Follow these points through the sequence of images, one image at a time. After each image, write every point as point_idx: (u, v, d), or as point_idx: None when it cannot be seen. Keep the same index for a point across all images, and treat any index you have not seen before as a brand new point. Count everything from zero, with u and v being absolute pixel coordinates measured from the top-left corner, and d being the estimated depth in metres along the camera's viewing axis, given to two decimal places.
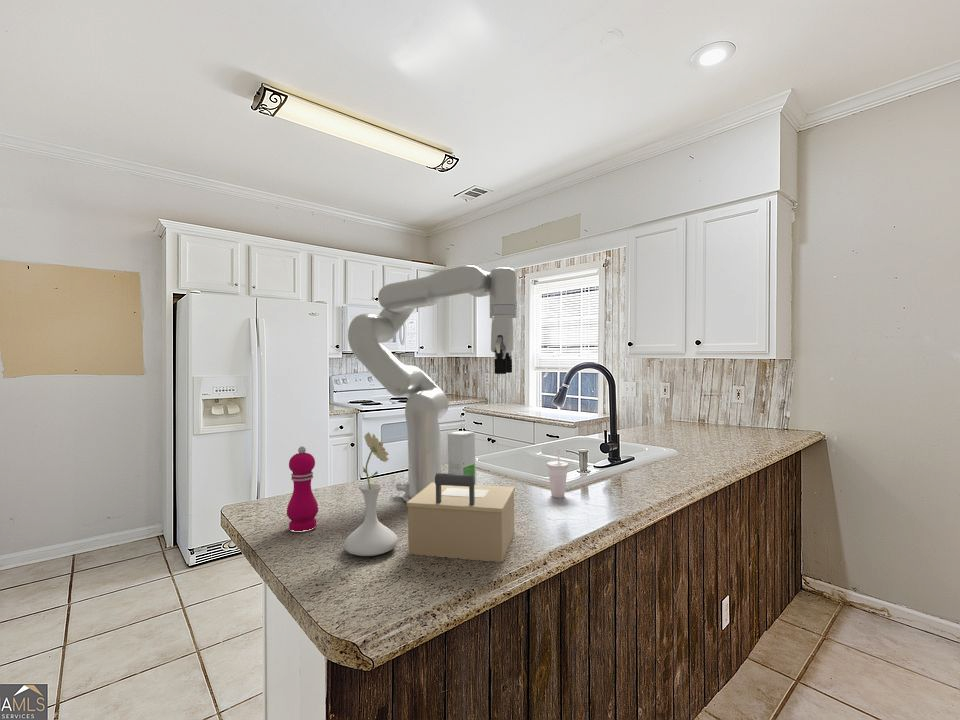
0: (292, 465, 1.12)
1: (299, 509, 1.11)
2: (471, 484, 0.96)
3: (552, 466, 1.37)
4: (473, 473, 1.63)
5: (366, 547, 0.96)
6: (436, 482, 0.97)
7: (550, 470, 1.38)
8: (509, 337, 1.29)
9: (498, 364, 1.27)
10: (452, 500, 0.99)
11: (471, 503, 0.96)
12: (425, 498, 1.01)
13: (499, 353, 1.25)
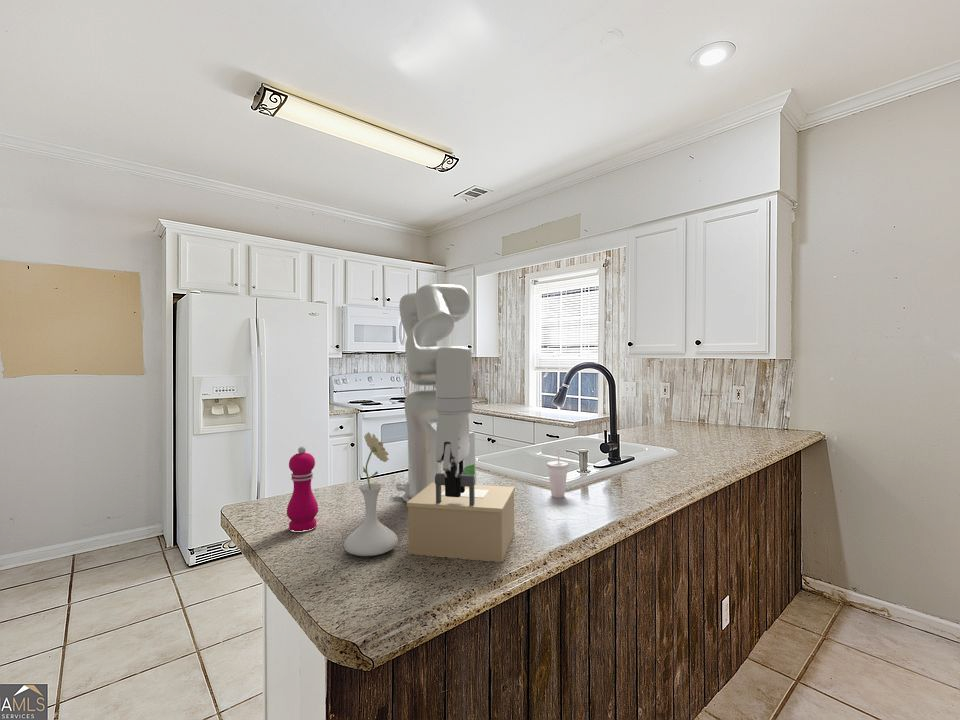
0: (292, 465, 1.12)
1: (299, 509, 1.11)
2: (471, 484, 0.96)
3: (552, 466, 1.37)
4: (473, 473, 1.63)
5: (366, 547, 0.96)
6: (436, 482, 0.97)
7: (550, 470, 1.38)
8: (461, 443, 0.94)
9: (449, 485, 0.95)
10: (452, 500, 0.99)
11: (471, 503, 0.96)
12: (425, 498, 1.01)
13: None
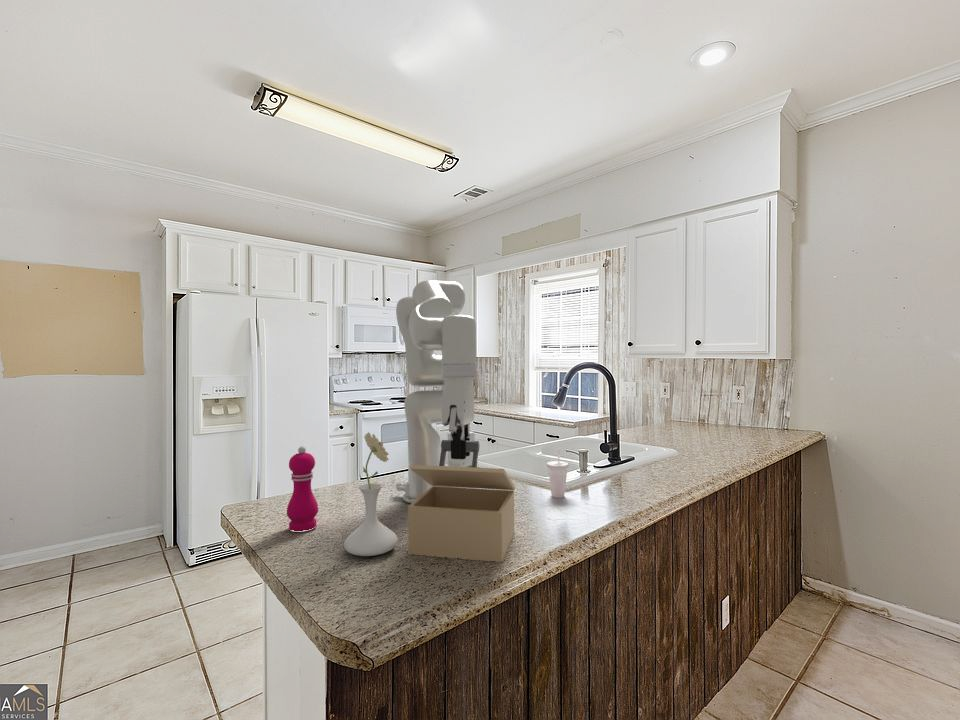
0: (292, 465, 1.12)
1: (299, 509, 1.11)
2: (476, 447, 1.00)
3: (552, 466, 1.37)
4: None
5: (366, 547, 0.96)
6: (442, 445, 1.01)
7: (550, 470, 1.38)
8: (466, 407, 0.98)
9: (455, 447, 0.99)
10: None
11: (474, 466, 0.98)
12: None
13: None
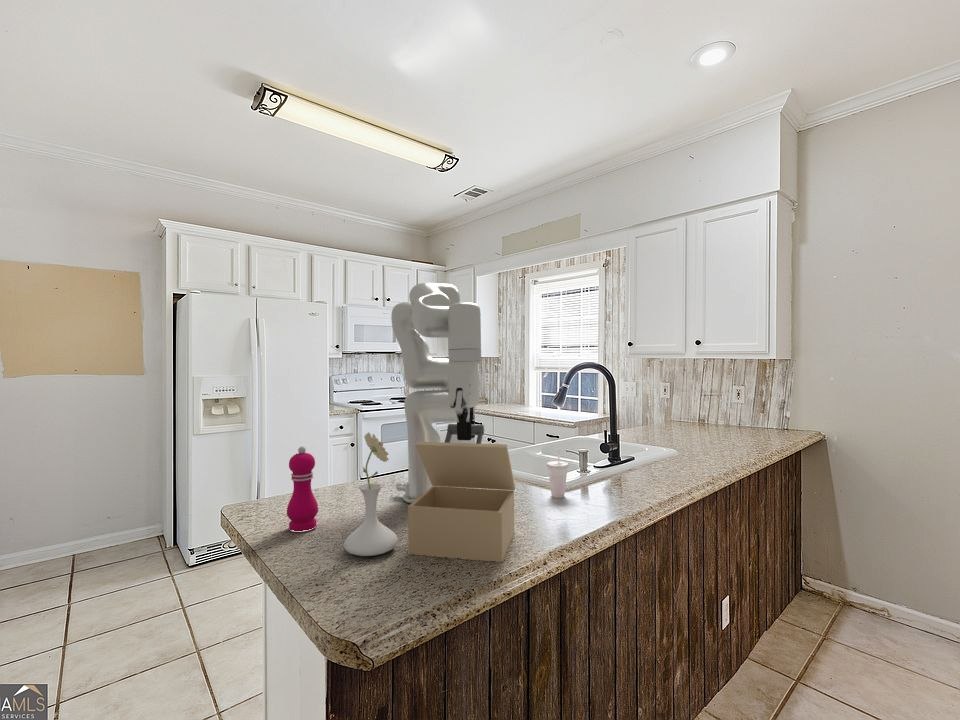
0: (292, 465, 1.12)
1: (299, 509, 1.11)
2: (481, 428, 1.05)
3: (552, 466, 1.37)
4: None
5: (366, 547, 0.96)
6: (448, 427, 1.06)
7: (550, 470, 1.38)
8: (471, 390, 1.03)
9: (461, 429, 1.04)
10: None
11: (477, 444, 1.02)
12: None
13: (462, 416, 1.03)
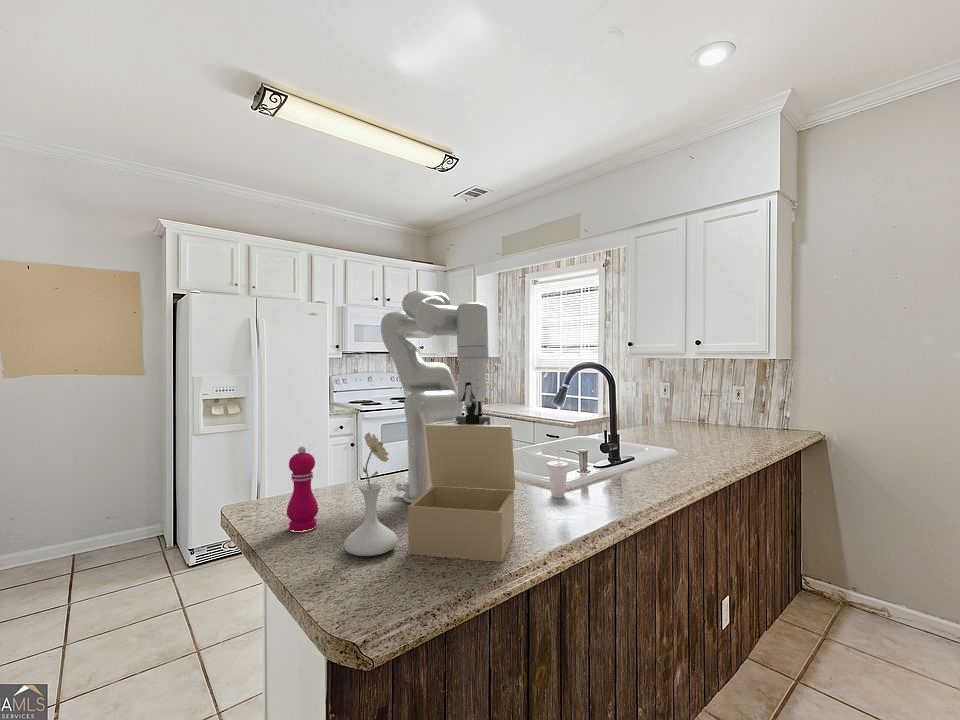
0: (292, 465, 1.12)
1: (299, 509, 1.11)
2: (487, 418, 1.12)
3: (552, 466, 1.37)
4: None
5: (366, 547, 0.96)
6: (457, 417, 1.13)
7: (550, 470, 1.38)
8: (479, 384, 1.10)
9: (470, 421, 1.11)
10: None
11: None
12: None
13: (471, 409, 1.10)
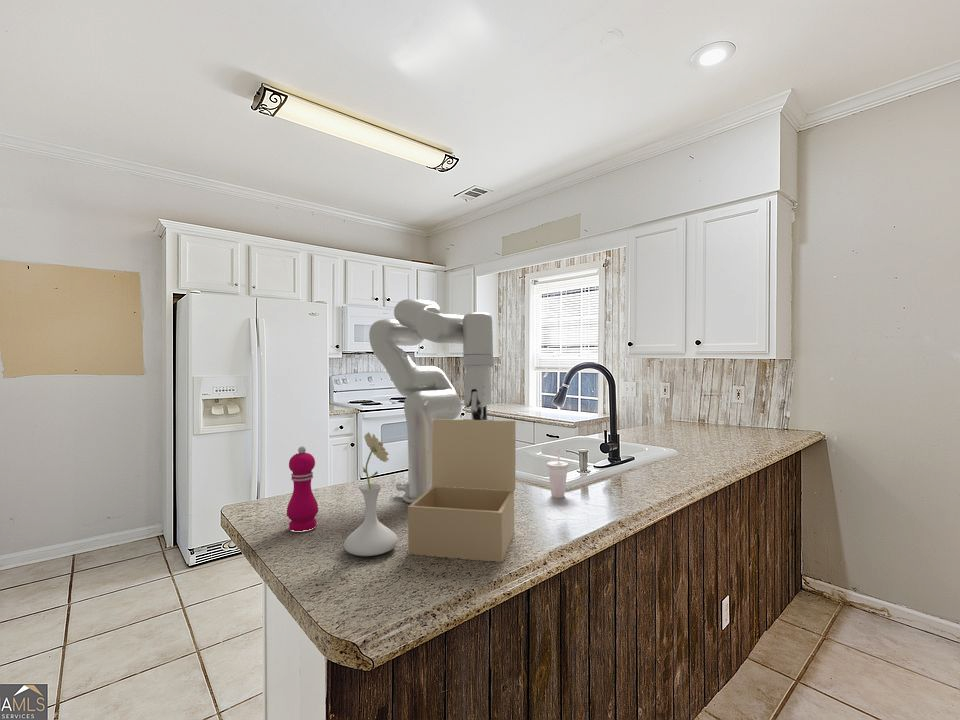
0: (292, 465, 1.12)
1: (299, 509, 1.11)
2: None
3: (552, 466, 1.37)
4: None
5: (366, 547, 0.96)
6: (464, 419, 1.19)
7: (550, 470, 1.38)
8: (485, 391, 1.15)
9: None
10: None
11: None
12: None
13: None
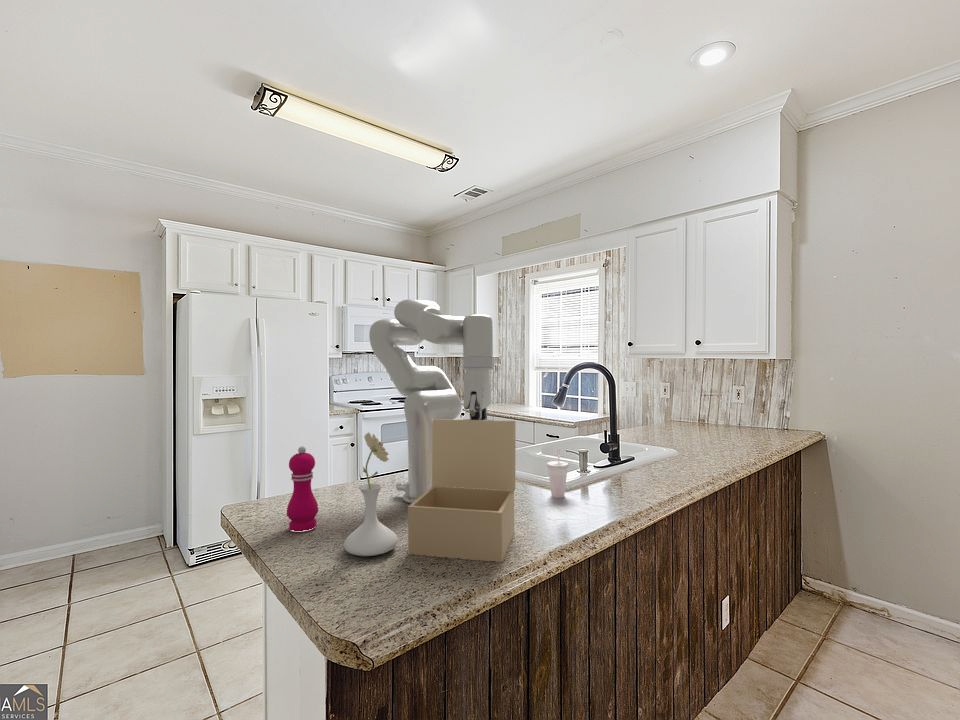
0: (292, 465, 1.12)
1: (299, 509, 1.11)
2: None
3: (552, 466, 1.37)
4: None
5: (366, 547, 0.96)
6: (464, 419, 1.19)
7: (550, 470, 1.38)
8: (484, 393, 1.15)
9: None
10: None
11: None
12: None
13: (474, 416, 1.14)
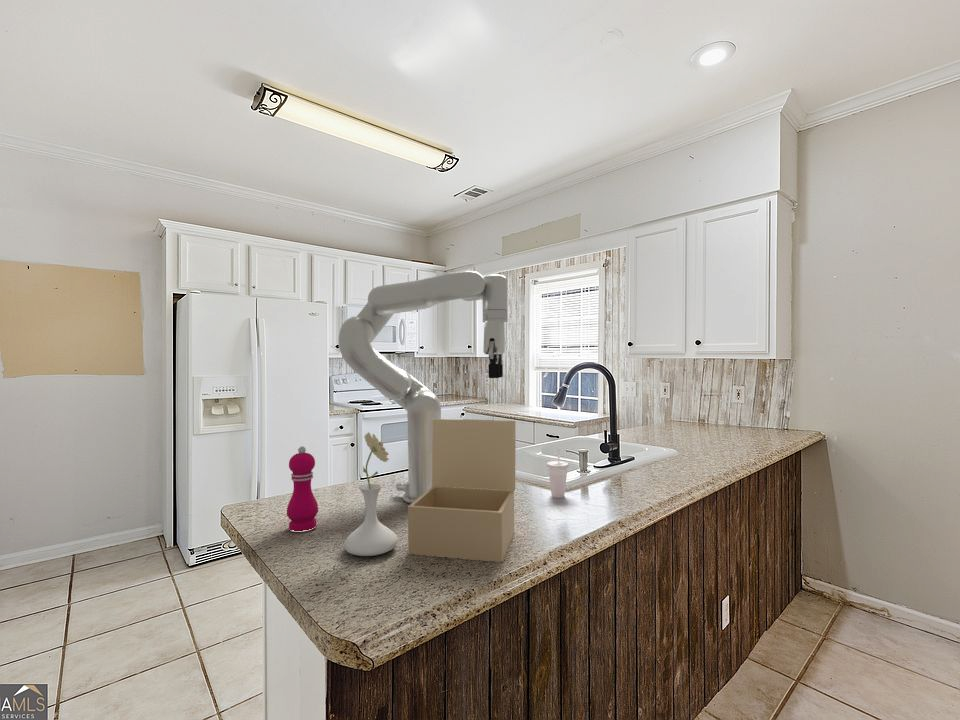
0: (292, 465, 1.12)
1: (299, 509, 1.11)
2: None
3: (552, 466, 1.37)
4: None
5: (366, 547, 0.96)
6: (464, 419, 1.19)
7: (550, 470, 1.38)
8: (500, 340, 1.38)
9: (492, 369, 1.38)
10: None
11: None
12: None
13: (493, 359, 1.36)
